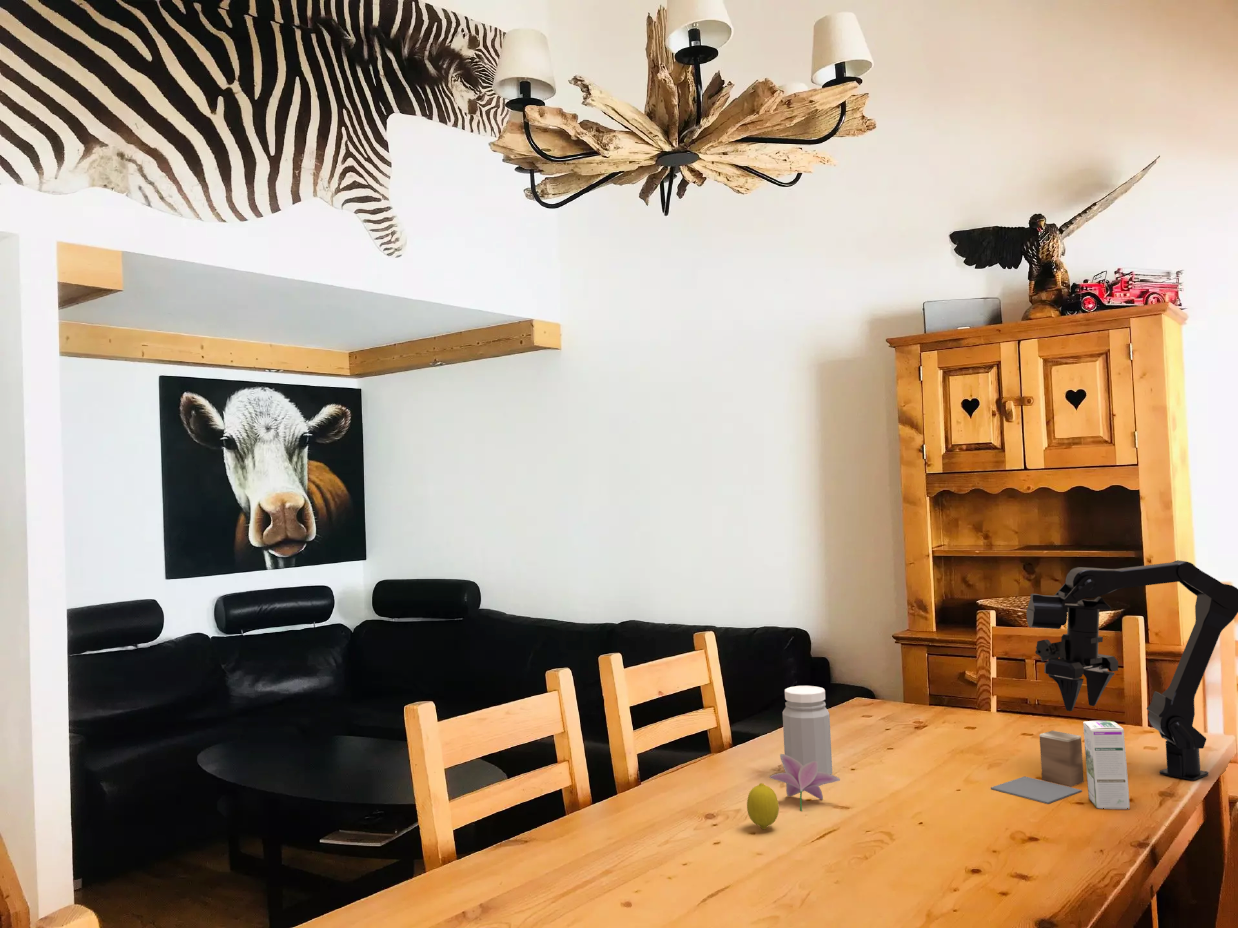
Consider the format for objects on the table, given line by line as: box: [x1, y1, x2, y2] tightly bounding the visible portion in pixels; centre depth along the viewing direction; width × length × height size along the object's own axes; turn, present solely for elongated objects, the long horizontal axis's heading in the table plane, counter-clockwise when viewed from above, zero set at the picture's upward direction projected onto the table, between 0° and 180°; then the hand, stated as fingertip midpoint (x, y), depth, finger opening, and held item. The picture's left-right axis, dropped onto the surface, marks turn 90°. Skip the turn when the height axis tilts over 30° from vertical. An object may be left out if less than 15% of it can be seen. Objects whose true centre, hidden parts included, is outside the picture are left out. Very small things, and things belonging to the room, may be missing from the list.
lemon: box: [746, 782, 780, 830], centre depth 170 cm, size 6×6×8 cm
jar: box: [782, 685, 833, 775], centre depth 200 cm, size 10×10×18 cm
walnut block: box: [1039, 730, 1085, 788], centre depth 190 cm, size 4×6×9 cm
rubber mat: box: [990, 776, 1083, 805], centre depth 185 cm, size 11×12×1 cm
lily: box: [769, 753, 841, 812], centre depth 182 cm, size 12×12×10 cm
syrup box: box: [1082, 720, 1131, 810], centre depth 175 cm, size 6×6×14 cm
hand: (1080, 708), depth 194 cm, fingers open, 9 cm apart
